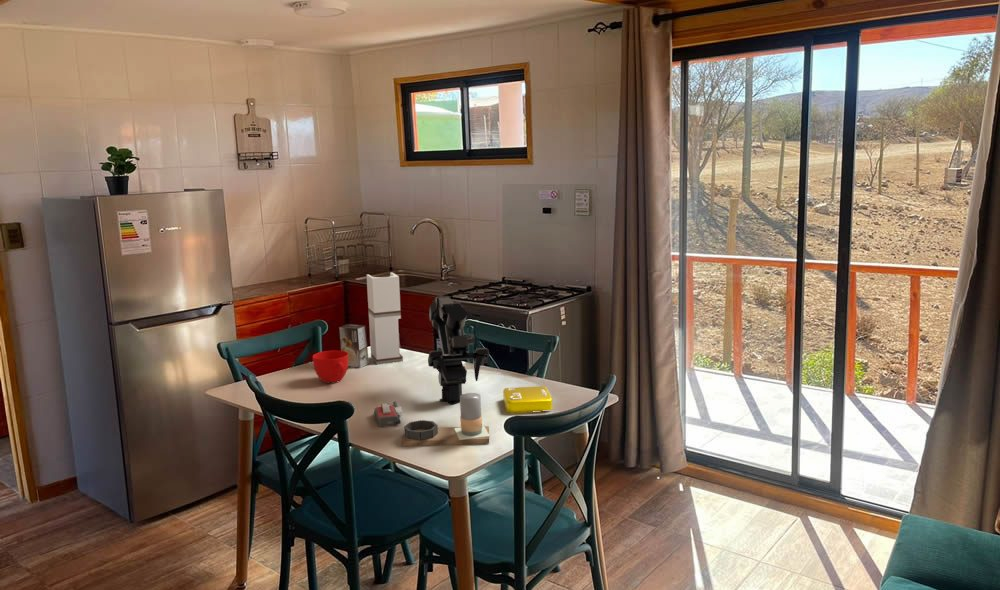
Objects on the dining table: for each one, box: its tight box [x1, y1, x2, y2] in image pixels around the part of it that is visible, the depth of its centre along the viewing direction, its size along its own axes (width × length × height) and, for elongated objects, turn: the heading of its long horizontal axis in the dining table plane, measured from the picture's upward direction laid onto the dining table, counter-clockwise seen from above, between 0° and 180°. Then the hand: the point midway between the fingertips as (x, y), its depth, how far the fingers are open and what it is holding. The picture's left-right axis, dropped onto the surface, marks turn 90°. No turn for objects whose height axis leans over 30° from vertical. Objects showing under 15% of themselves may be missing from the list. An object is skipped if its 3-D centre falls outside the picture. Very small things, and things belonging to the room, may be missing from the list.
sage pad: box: [454, 424, 491, 440], centre depth 216 cm, size 9×9×1 cm
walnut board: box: [401, 425, 490, 447], centre depth 216 cm, size 25×10×2 cm, turn 91°
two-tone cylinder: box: [459, 392, 483, 436], centre depth 215 cm, size 6×6×11 cm
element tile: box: [502, 385, 553, 414], centre depth 243 cm, size 15×15×5 cm
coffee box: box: [338, 323, 370, 368], centre depth 293 cm, size 9×6×16 cm
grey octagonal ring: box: [403, 419, 439, 440], centre depth 216 cm, size 10×10×2 cm
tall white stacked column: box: [366, 272, 404, 365], centre depth 299 cm, size 11×11×35 cm
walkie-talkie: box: [373, 400, 403, 428], centre depth 236 cm, size 9×4×20 cm
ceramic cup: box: [312, 349, 349, 383], centre depth 272 cm, size 13×17×10 cm
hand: (462, 381), depth 226 cm, fingers open, 9 cm apart
